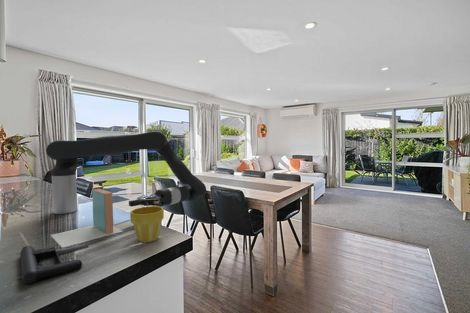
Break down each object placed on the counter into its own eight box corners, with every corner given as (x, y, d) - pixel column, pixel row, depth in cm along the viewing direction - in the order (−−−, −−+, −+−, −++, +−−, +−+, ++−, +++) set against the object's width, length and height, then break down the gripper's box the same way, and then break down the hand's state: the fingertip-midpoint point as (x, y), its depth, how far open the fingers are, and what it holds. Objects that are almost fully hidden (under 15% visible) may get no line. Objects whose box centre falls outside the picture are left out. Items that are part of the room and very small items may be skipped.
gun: (82, 235, 77) (14, 247, 65) (99, 256, 62) (16, 276, 51) (82, 245, 77) (14, 259, 65) (99, 269, 62) (15, 291, 51)
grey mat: (50, 236, 80) (50, 235, 80) (106, 223, 94) (106, 222, 94) (62, 249, 71) (62, 247, 71) (123, 232, 84) (123, 231, 84)
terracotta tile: (93, 226, 89) (91, 189, 88) (100, 224, 91) (99, 188, 90) (105, 234, 81) (104, 193, 80) (113, 232, 83) (112, 192, 82)
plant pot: (127, 237, 80) (126, 208, 79) (157, 230, 86) (157, 204, 86) (135, 248, 72) (135, 216, 71) (168, 239, 78) (168, 210, 77)
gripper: (159, 186, 110) (122, 192, 97) (176, 190, 102) (137, 196, 89) (160, 202, 111) (122, 210, 98) (176, 207, 102) (138, 216, 89)
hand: (129, 203), depth 93 cm, fingers closed
